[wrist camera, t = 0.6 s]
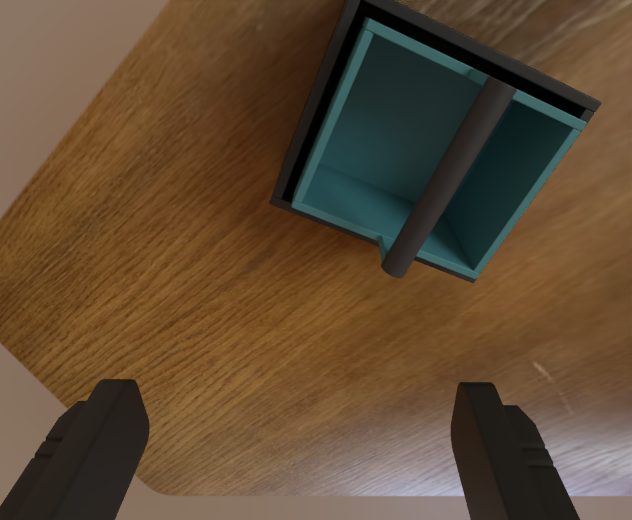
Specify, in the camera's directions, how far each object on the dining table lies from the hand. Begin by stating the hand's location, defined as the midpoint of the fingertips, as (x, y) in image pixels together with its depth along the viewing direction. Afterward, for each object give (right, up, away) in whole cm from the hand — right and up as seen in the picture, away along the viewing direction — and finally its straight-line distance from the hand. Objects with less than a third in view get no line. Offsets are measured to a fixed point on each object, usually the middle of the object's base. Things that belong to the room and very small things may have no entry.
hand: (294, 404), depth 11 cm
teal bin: (+7, +13, +21) cm, 26 cm away
